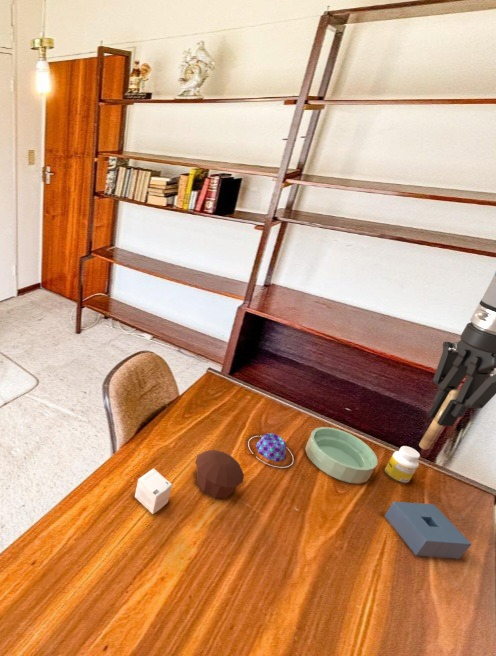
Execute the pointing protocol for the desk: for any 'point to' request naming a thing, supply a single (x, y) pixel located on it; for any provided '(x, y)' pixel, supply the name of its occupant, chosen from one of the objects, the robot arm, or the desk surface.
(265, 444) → the checkered ringed planet
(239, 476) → the muffin
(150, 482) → the product carton
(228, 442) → the desk surface
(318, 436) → the bowl
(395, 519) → the block
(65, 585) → the desk surface
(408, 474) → the supplement bottle
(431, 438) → the stick
